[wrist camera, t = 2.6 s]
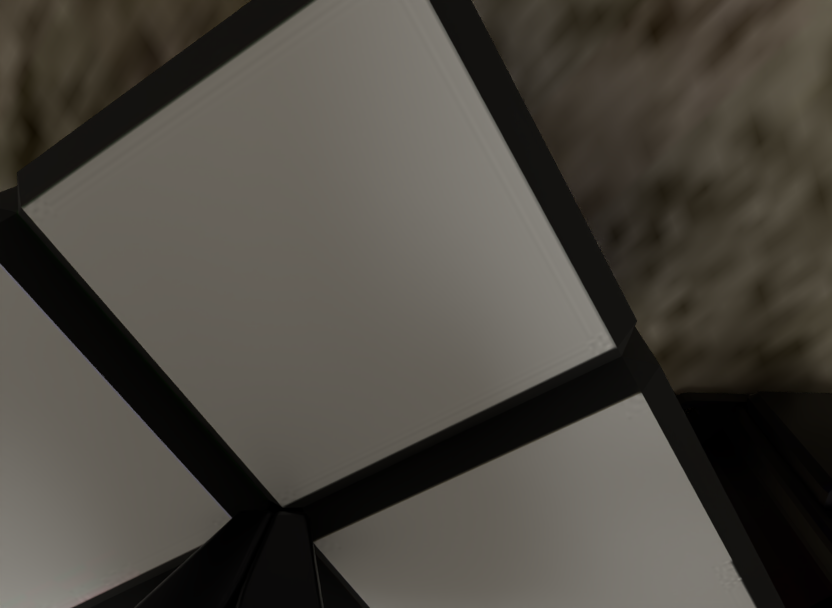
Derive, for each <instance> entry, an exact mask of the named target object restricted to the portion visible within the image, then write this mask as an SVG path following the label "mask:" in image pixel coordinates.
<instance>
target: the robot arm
mask: <svg viewBox="0 0 832 608" xmlns="http://www.w3.org/2000/svg"><path fill="white" fill-rule="evenodd" d="M676 397H677V399H678V401H679V403H680V405H681V407H682V409H683V411H684V410H685V409H687V408H694V409H693V410H692V412H690V413H689V414H686V417H687V419H688V420H689V422H690V424H691V426H692V428H693V430H694V432H695V434H696V436H697V438H698V440H699V442H700V444H701V446H702V448H703V449H704V451H705V453H706V455H707V457H708V459H709V461H710V463H711V465H712V467H713V469H714V471H715V473H716V475H717V477H718V478H719V480H720V482H721V484H722V486H723V488H724V490H725V492H726V494H727V496H728V498H729V500H730V502H731V504H732V506H733V507H734V509H735V511H736V513H737V515H738V517H739V519H740V521H741V523H742V525H743V527H744V529H745V531H746V533H747V534H748V536H749V538H750V540H751V542H752V544H753V546H754V548H755V550H756V552H757V554H758V556H759V558H760V560H761V562H762V563H763V565H764V567H765V569H766V571H767V573H768V575H769V577H770V579H771V581H772V583H773V585H774V587H775V589H776V591H777V592H778V594H779V596H780V598H781V600H782V602H783V604H784V606H785V608H832V394H829V393H794V392H756V393H753V394H715V393H683V394H680V395H677V396H676ZM134 608H323V601H322V595H321V589H320V582H319V576H318V569H317V563H316V557H315V550H314V544H313V538H312V531H311V525H310V519H309V515H308V514H307V513H306V512H293V511H279V512H277V513H276V514H275V515H274V513H272V512H271V511H264V510H243V511H240V512H239V513H237V514H236V515H235V516H234V517H233V518H231V519H230V520H229V521H228V522H227V523H226V524H225V525H224V526H223V527H222V528H221V529H219V530H218V531H217V532H216V533H215V534H214V535H213V536H212V537H211V538H210V539H209V540H207V541H206V542H205V543H204V544H203V545H202V546H201V547H200V548H199V549H198V550H197V551H195V552H194V553H193V554H192V555H191V556H190V557H189V558H188V559H187V560H186V561H185V562H183V563H182V564H181V565H180V566H179V567H178V568H177V569H176V570H175V571H174V572H173V573H171V574H170V575H169V576H168V577H167V578H166V579H165V580H164V581H163V582H162V583H161V584H159V585H158V586H157V587H156V588H155V589H154V590H153V591H152V592H151V593H150V594H149V595H147V596H146V597H145V598H144V599H143V600H142V601H141V602H140V603H139V604H138V605H137V606H135V607H134Z"/></svg>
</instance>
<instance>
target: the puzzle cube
mask: <svg viewBox="0 0 832 608" xmlns="http://www.w3.org/2000/svg"><path fill="white" fill-rule="evenodd" d="M17 183H18V186H16V187H13V188H10V189H8V190H5V191H2V192H0V608H134V607H135V606H137V605H138V604H139V603H140V602H141V601H142V600H143V599H144V598H145V597H146V596H147V595H149V594H150V593H151V592H152V591H153V590H154V589H155V588H156V587H157V586H158V585H159V584H161V583H162V582H163V581H164V580H165V579H166V578H167V577H168V576H169V575H170V574H171V573H173V572H174V571H175V570H176V569H177V568H178V567H179V566H180V565H181V564H182V563H183V562H185V561H186V560H187V559H188V558H189V557H190V556H191V555H192V554H193V553H194V552H195V551H197V550H198V549H199V548H200V547H201V546H202V545H203V544H204V543H205V542H206V541H207V540H209V539H210V538H211V537H212V536H213V535H214V534H215V533H216V532H217V531H218V530H219V529H221V528H222V527H223V526H224V525H225V524H226V523H227V522H228V521H229V520H230V519H231V518H233V517H234V516H235V515H236V514H237V513H239V512H240V511H243V510H264V511H271V512H272V513H274V515H275V514H276V513H277V512H279V511H293V512H306V513H307V514H308V515H309V519H310V525H311V531H312V538H313V544H314V550H315V557H316V563H317V569H318V576H319V582H320V589H321V595H322V601H323V608H785V606H784V604H783V602H782V600H781V598H780V596H779V594H778V592H777V591H776V589H775V587H774V585H773V583H772V581H771V579H770V577H769V575H768V573H767V571H766V569H765V567H764V565H763V563H762V562H761V560H760V558H759V556H758V554H757V552H756V550H755V548H754V546H753V544H752V542H751V540H750V538H749V536H748V534H747V533H746V531H745V529H744V527H743V525H742V523H741V521H740V519H739V517H738V515H737V513H736V511H735V509H734V507H733V506H732V504H731V502H730V500H729V498H728V496H727V494H726V492H725V490H724V488H723V486H722V484H721V482H720V480H719V478H718V477H717V475H716V473H715V471H714V469H713V467H712V465H711V463H710V461H709V459H708V457H707V455H706V453H705V451H704V449H703V448H702V446H701V444H700V442H699V440H698V438H697V436H696V434H695V432H694V430H693V428H692V426H691V424H690V422H689V420H688V419H687V417H686V415H685V413H684V411H683V409H682V407H681V405H680V403H679V401H678V399H677V397H676V395H675V393H674V391H673V390H672V388H671V386H670V384H669V382H668V380H667V378H666V376H665V374H664V372H663V370H662V368H661V366H660V365H659V363H658V361H657V360H656V358H655V357H654V355H653V354H652V352H651V351H650V349H649V348H648V346H647V344H646V343H645V341H644V340H643V338H642V337H641V335H640V334H639V332H638V331H637V329H636V327H635V324H636V322H637V320H636V318H635V316H634V314H633V312H632V310H631V308H630V306H629V305H628V303H627V301H626V299H625V297H624V295H623V293H622V291H621V289H620V287H619V285H618V283H617V281H616V279H615V277H614V276H613V274H612V272H611V270H610V268H609V266H608V264H607V262H606V260H605V258H604V256H603V254H602V252H601V250H600V248H599V247H598V245H597V243H596V241H595V239H594V237H593V235H592V233H591V231H590V229H589V227H588V225H587V223H586V221H585V219H584V218H583V216H582V214H581V212H580V210H579V208H578V206H577V204H576V202H575V200H574V198H573V196H572V194H571V192H570V190H569V189H568V187H567V185H566V183H565V181H564V179H563V177H562V175H561V173H560V171H559V169H558V167H557V165H556V163H555V161H554V160H553V158H552V156H551V154H550V152H549V150H548V148H547V146H546V144H545V142H544V140H543V138H542V136H541V134H540V132H539V131H538V129H537V127H536V125H535V123H534V121H533V119H532V117H531V115H530V113H529V111H528V109H527V107H526V105H525V104H524V102H523V100H522V98H521V96H520V94H519V92H518V90H517V88H516V86H515V84H514V82H513V80H512V78H511V76H510V75H509V73H508V71H507V69H506V67H505V65H504V63H503V61H502V59H501V57H500V55H499V53H498V51H497V49H496V47H495V46H494V44H493V42H492V40H491V38H490V36H489V34H488V32H487V30H486V28H485V26H484V24H483V22H482V20H481V18H480V17H479V15H478V13H477V11H476V9H475V7H474V5H473V3H472V1H471V0H251V1H250V2H249V3H247V4H246V5H245V6H243V7H242V8H241V9H239V10H238V11H236V12H235V13H234V14H232V15H231V16H230V17H228V18H227V19H226V20H224V21H223V22H221V23H220V24H219V25H217V26H216V27H215V28H213V29H212V30H211V31H209V32H208V33H206V34H205V35H204V36H202V37H201V38H200V39H198V40H197V41H196V42H194V43H193V44H191V45H190V46H189V47H187V48H186V49H185V50H183V51H182V52H181V53H179V54H178V55H176V56H175V57H174V58H172V59H171V60H170V61H168V62H167V63H166V64H164V65H163V66H161V67H160V68H159V69H157V70H156V71H155V72H153V73H152V74H151V75H149V76H148V77H146V78H145V79H144V80H142V81H141V82H140V83H138V84H137V85H136V86H134V87H133V88H131V89H130V90H129V91H127V92H126V93H125V94H123V95H122V96H121V97H119V98H118V99H117V100H115V101H114V102H112V103H111V104H110V105H108V106H107V107H106V108H104V109H103V110H102V111H100V112H99V113H97V114H96V115H95V116H93V117H92V118H91V119H89V120H88V121H87V122H85V123H84V124H82V125H81V126H80V127H78V128H77V129H76V130H74V131H73V132H72V133H70V134H69V135H67V136H66V137H65V138H63V139H62V140H61V141H59V142H58V143H57V144H55V145H54V146H52V147H51V148H50V149H48V150H47V151H46V152H44V153H43V154H42V155H40V156H39V157H37V158H36V159H35V160H33V161H32V162H31V163H29V164H28V165H27V166H25V167H24V168H22V169H21V170H20V171H18V172H17Z"/></svg>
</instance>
